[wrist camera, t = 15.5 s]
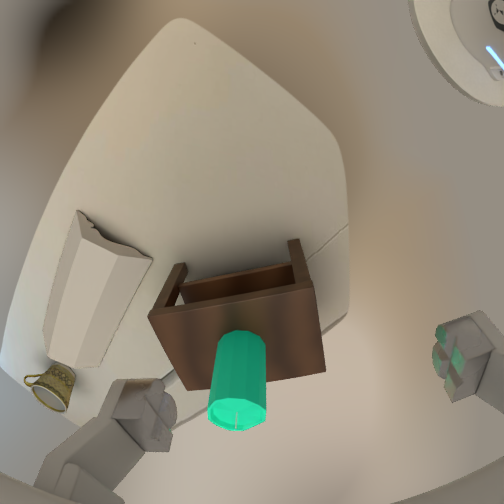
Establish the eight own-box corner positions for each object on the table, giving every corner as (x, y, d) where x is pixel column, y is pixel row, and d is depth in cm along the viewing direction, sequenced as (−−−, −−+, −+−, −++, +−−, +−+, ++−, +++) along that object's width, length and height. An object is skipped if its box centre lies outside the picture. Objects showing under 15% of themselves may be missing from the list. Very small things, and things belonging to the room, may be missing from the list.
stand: (299, 237, 46) (313, 286, 34) (313, 312, 52) (326, 371, 39) (173, 264, 49) (146, 316, 36) (200, 332, 54) (187, 391, 42)
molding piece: (87, 331, 65) (98, 367, 60) (42, 330, 57) (50, 368, 51) (135, 222, 54) (152, 259, 48) (76, 210, 45) (85, 251, 39)
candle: (225, 367, 39) (215, 443, 28) (211, 333, 37) (196, 413, 26) (270, 361, 39) (272, 439, 28) (260, 326, 36) (259, 408, 25)
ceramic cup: (83, 370, 61) (66, 400, 52) (80, 391, 65) (66, 419, 56) (38, 344, 59) (18, 371, 50) (39, 367, 63) (22, 393, 54)
